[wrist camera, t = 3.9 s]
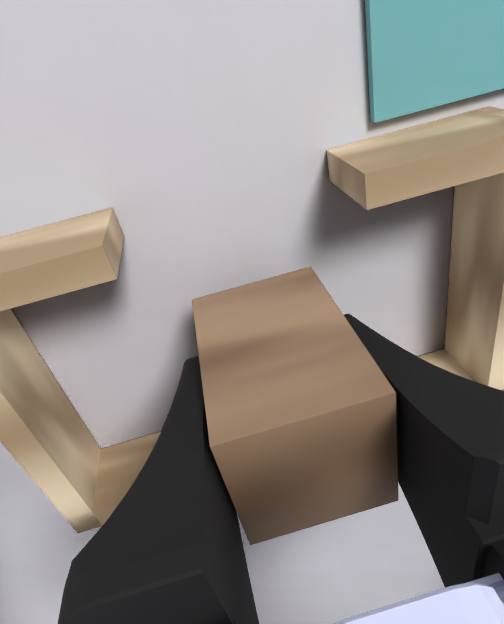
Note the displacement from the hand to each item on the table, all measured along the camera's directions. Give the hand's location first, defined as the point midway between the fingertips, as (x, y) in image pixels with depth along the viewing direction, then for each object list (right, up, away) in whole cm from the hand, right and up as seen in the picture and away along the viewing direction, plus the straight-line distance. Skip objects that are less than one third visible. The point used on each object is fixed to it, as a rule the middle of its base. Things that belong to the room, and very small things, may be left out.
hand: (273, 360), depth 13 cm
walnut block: (0, +1, +1) cm, 2 cm away
